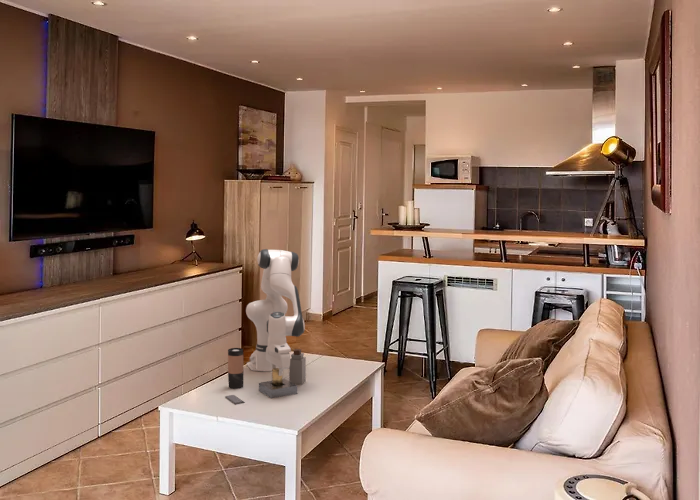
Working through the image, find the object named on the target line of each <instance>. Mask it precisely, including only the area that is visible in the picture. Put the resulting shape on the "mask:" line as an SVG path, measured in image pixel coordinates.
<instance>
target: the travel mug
mask: <svg viewBox="0 0 700 500" xmlns="http://www.w3.org/2000/svg"><path fill="white" fill-rule="evenodd" d="M244 370H245V368H244V349H243V348H241V347H232V348H228V349H227V375H228V378H227V379H228V381H227V382H228V389H230V390H239V389H243V388H244V375H245V374H244Z"/></svg>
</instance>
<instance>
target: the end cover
mask: <svg viewBox="0 0 700 500" xmlns="http://www.w3.org/2000/svg"><path fill="white" fill-rule="evenodd" d="M278 372H279V368H273V369H272V371H271V381H272V385H274V386H281V385H283V379H284V378H283V375H282V376H279V375H278Z"/></svg>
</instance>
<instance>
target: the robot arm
mask: <svg viewBox="0 0 700 500" xmlns="http://www.w3.org/2000/svg"><path fill="white" fill-rule="evenodd" d="M256 259H257V260H256V262H257V265H258V266H259V268H261V269H263V271H262V277H261V283H260V289H261V291H262V292H263V293H264V294H266V297H265V299H260V300H254V301H252V302H249V303H248V304H247V305H246V307H245V313H246V316H247V318H248V319H249V320H250V321H251V322H253V324H254V326H255V329H256V339H257V341H256V344H255V350H254V351H253V353H251V355H250V356H249V361H248V362H246V366H247V367H248V368H249V369H250V370H251V371H253V372H256V371H257V372H258V371H259V372H272V369H273V368H279V372H278V375H279V376H283V375H284V374H283V372H284V370H289V367H290V359H291V354H290V353H291V352H292V348H291V347H290V345H289V344H288V343H287V337H289V336H290V337H298V338H299V337H301V336H302V335H303V334H305V328H306V326H305V325H306V324H305V320H304V318H303V311H302V307H301V306H302V305H301V298H300V295H299V294H300V293H299V289H298V287H297V286H296V285H295V284H294V283H293V281H292V272H294V271H296V270H297V269H298V267H299V264H300V257H299V255H298V253H297V252H294V251H290V250H289V251H288V250H282V249H267V248H263V249H261V250H260V251H259V253H258V255H257V258H256ZM283 297H285V298H287V299H289V300H290V301H291V303H292V309H293V315H291V316H288V315H287V316H286V314H287V312H288V302H287V301H286V299H284V298H283Z"/></svg>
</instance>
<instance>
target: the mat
mask: <svg viewBox="0 0 700 500" xmlns="http://www.w3.org/2000/svg"><path fill="white" fill-rule="evenodd" d="M224 397H225V399H226V398H227V400H228V401H229V402H231V403H232V404H234V405H240V404H246V402H245V401H244V400H243V399H241V398H239V397H237V396H236V395H235V394H229V395H224Z"/></svg>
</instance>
